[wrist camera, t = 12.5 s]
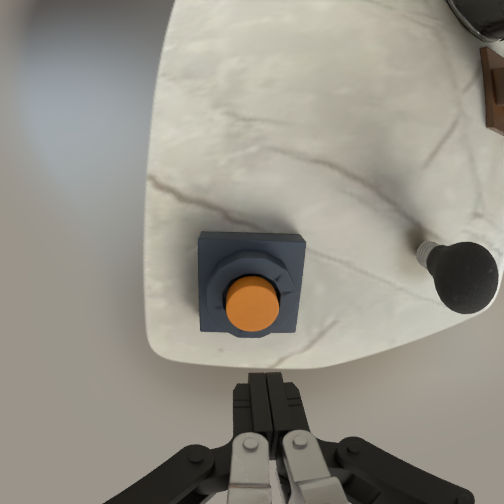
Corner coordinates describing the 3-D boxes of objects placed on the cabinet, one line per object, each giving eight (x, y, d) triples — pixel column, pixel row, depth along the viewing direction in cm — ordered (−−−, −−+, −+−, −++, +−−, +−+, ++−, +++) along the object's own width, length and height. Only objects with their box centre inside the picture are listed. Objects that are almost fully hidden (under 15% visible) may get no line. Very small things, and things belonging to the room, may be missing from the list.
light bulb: (398, 226, 24) (470, 263, 15) (443, 218, 24) (516, 249, 15) (397, 282, 26) (457, 336, 16) (440, 271, 26) (503, 315, 16)
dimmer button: (226, 274, 21) (226, 285, 19) (277, 275, 21) (281, 286, 19) (226, 319, 22) (225, 331, 20) (274, 319, 22) (276, 332, 20)
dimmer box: (201, 231, 23) (194, 245, 20) (300, 234, 24) (312, 248, 20) (202, 318, 26) (197, 344, 22) (291, 319, 26) (299, 345, 22)
